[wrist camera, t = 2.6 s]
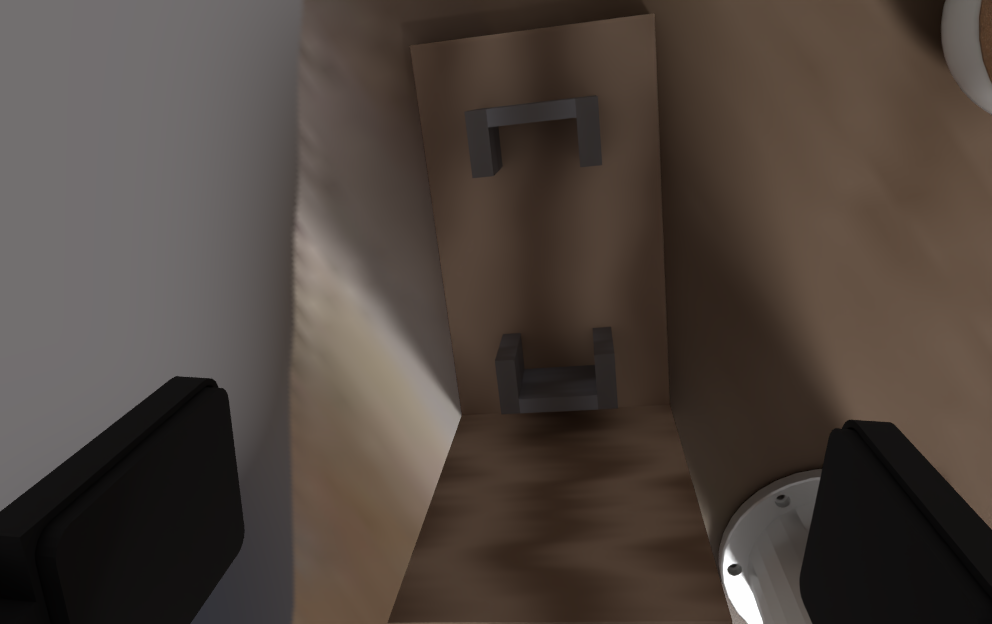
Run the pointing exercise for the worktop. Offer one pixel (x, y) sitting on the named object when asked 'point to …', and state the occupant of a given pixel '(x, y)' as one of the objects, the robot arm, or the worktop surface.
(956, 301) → the worktop surface
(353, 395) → the worktop surface
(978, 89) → the lidded jar
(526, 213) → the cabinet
